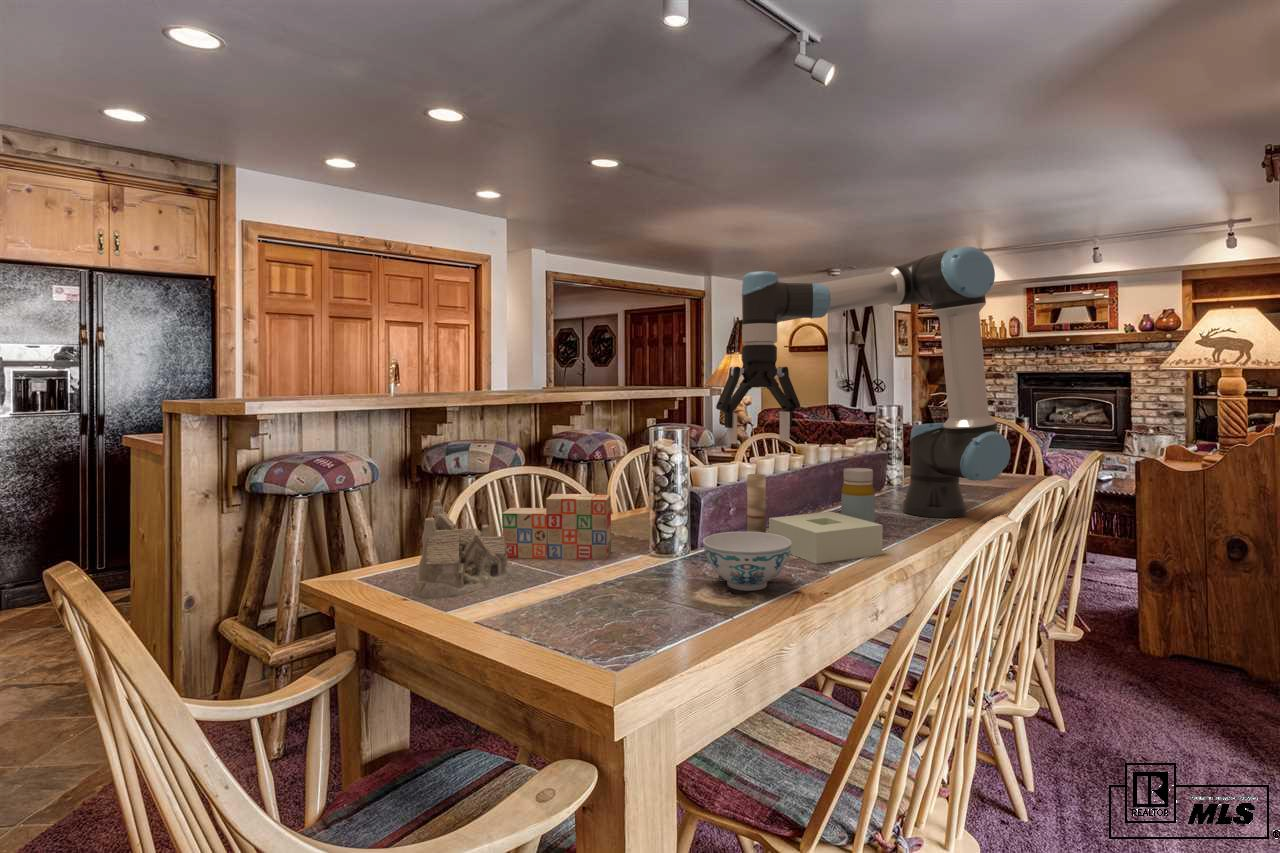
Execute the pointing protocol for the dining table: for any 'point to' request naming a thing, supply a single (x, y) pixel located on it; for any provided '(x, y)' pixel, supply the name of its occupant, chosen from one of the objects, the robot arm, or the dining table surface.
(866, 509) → the bottle
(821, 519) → the sage socket block
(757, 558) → the chinaware
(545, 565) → the dining table surface
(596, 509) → the stack of blocks
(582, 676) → the dining table surface
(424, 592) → the ceramic cottage
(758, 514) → the ash dowel
